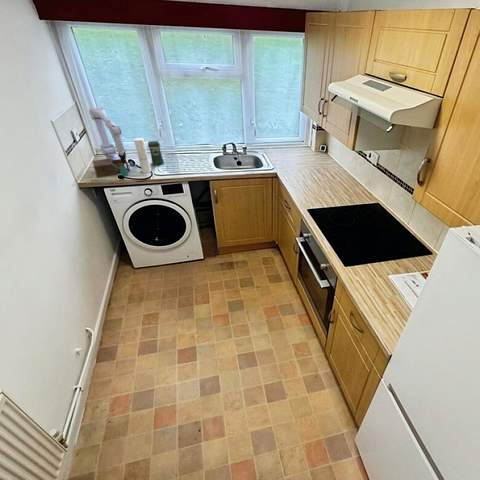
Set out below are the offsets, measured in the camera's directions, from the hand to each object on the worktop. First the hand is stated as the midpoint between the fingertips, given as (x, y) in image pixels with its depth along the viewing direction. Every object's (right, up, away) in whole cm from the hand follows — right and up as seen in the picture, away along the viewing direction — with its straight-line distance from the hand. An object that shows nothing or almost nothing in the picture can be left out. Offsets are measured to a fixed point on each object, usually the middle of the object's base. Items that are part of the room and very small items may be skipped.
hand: (124, 161), depth 234 cm
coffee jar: (+17, +8, +26) cm, 32 cm away
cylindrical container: (+13, -4, +11) cm, 17 cm away
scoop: (-3, -10, +2) cm, 11 cm away
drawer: (-6, -2, +10) cm, 12 cm away
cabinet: (-18, -7, +6) cm, 20 cm away
